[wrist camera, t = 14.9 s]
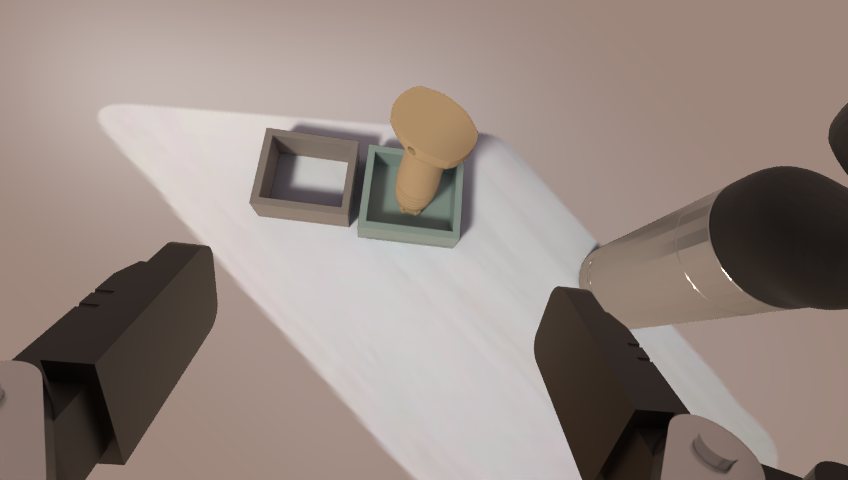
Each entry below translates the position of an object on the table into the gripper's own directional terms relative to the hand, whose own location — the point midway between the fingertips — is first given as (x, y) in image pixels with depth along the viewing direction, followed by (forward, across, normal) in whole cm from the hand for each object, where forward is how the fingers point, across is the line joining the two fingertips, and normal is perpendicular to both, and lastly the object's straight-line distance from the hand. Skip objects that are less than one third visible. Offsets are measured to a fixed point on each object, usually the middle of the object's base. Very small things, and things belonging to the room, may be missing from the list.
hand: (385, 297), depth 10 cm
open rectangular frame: (+32, +8, +10) cm, 35 cm away
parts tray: (+32, -2, +11) cm, 34 cm away
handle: (+32, -2, +11) cm, 34 cm away
